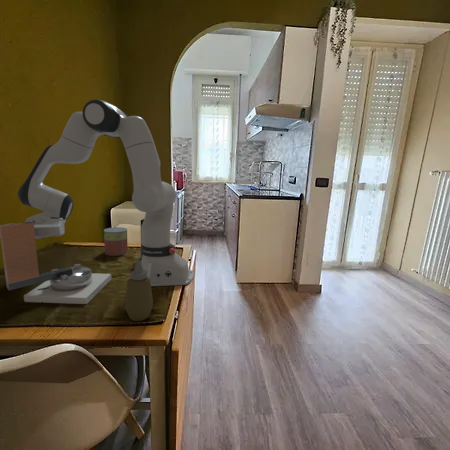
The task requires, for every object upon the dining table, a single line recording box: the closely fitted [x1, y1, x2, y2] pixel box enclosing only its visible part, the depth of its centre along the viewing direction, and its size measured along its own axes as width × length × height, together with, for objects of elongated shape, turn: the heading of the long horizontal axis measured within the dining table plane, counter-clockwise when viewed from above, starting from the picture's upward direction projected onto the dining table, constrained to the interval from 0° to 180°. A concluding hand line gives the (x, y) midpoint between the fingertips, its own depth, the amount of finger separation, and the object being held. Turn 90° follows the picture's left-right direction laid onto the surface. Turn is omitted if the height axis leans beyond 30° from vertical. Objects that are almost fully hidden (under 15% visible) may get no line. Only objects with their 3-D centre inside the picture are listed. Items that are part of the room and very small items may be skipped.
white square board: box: [23, 272, 112, 305], centre depth 96 cm, size 20×20×2 cm
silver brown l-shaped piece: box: [0, 222, 93, 291], centre depth 89 cm, size 24×13×24 cm, turn 141°
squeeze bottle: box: [125, 259, 154, 322], centre depth 80 cm, size 8×8×18 cm
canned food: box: [103, 226, 129, 256], centre depth 138 cm, size 11×11×12 cm
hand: (18, 235), depth 87 cm, fingers closed
